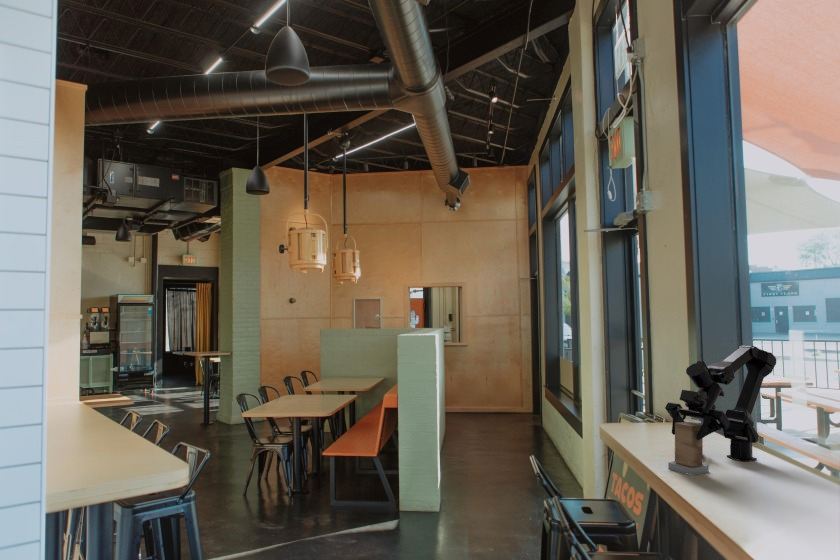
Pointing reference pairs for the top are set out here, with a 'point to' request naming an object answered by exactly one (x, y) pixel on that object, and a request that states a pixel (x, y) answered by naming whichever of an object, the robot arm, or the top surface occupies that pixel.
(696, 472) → the slate tile
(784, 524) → the top surface
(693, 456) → the walnut block
